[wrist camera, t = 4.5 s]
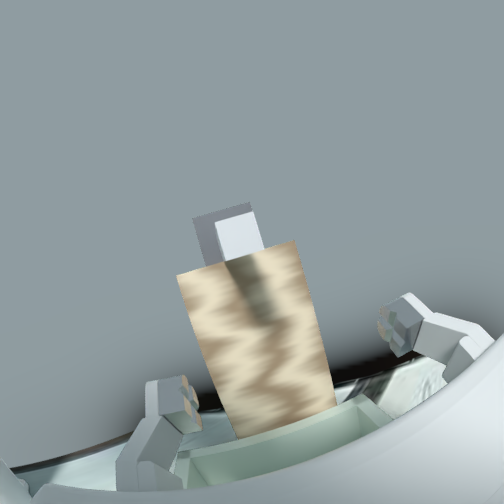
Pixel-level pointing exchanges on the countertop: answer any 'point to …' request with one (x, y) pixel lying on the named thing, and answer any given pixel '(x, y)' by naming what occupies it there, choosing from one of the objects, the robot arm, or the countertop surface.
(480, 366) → the robot arm
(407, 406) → the countertop surface
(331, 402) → the stand
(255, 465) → the bin
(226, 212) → the gray mallet
